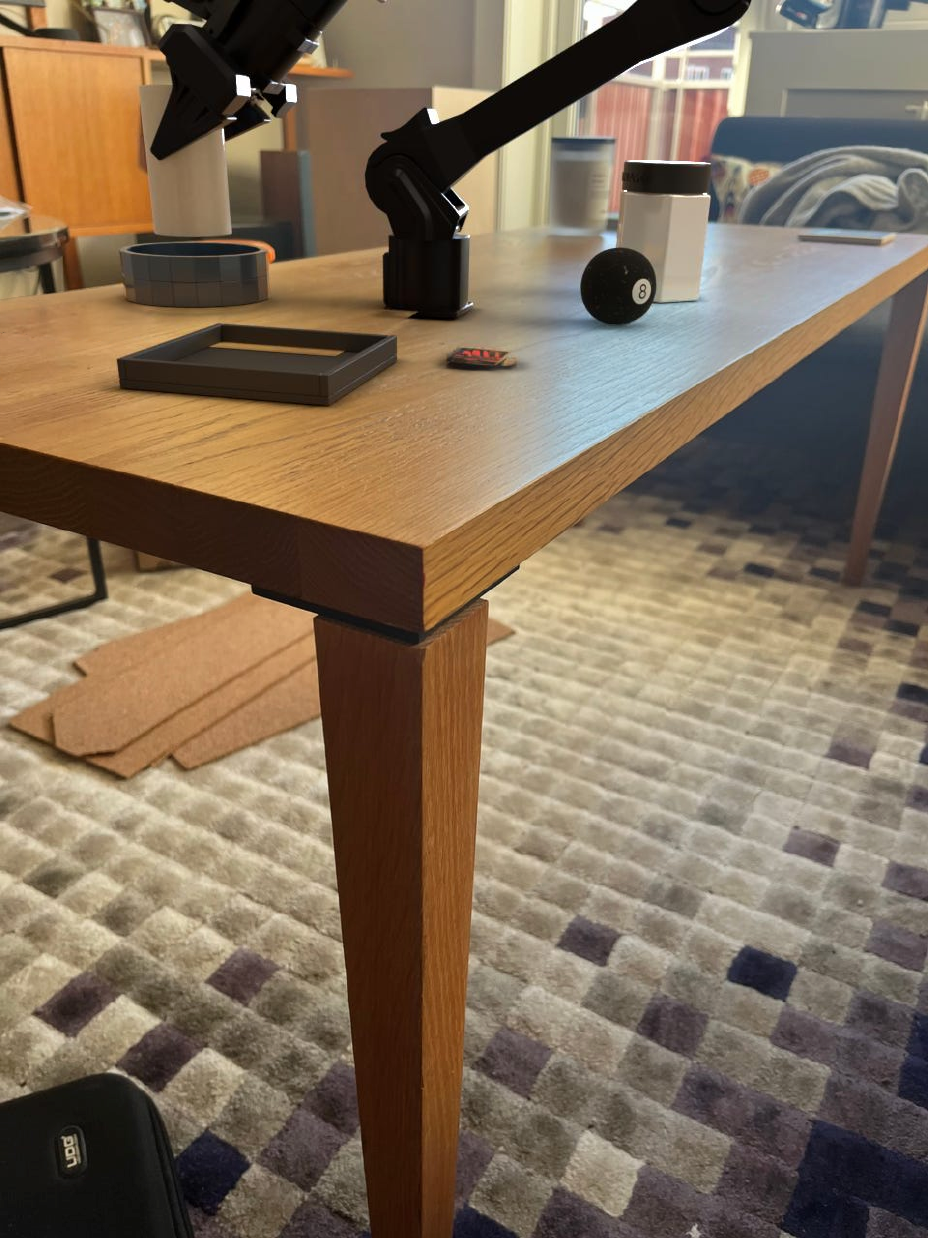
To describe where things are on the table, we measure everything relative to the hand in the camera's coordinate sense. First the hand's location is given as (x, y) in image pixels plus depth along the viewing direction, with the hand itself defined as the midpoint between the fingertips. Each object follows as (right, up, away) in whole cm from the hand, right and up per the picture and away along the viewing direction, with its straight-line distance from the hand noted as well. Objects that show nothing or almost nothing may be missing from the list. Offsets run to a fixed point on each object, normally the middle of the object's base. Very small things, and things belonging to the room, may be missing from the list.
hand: (169, 155), depth 82 cm
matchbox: (+25, -21, -15) cm, 36 cm away
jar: (+43, -7, +16) cm, 46 cm away
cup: (+1, -6, +2) cm, 6 cm away
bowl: (+1, -11, +5) cm, 12 cm away
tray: (+12, -23, -20) cm, 32 cm away
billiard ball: (+37, -14, 0) cm, 39 cm away
